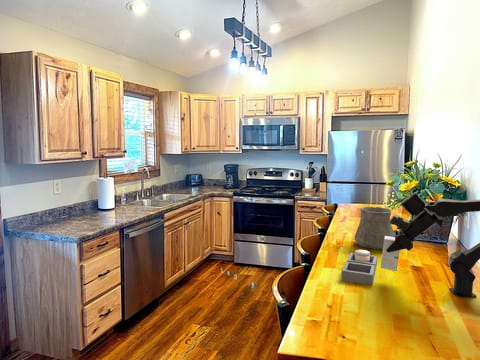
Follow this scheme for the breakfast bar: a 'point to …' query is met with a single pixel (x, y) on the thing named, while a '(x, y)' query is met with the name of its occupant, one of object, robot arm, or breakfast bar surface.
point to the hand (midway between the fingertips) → (387, 249)
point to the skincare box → (389, 255)
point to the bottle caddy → (360, 267)
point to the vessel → (374, 227)
